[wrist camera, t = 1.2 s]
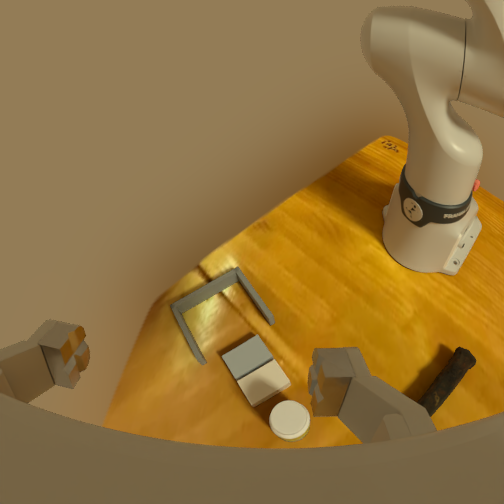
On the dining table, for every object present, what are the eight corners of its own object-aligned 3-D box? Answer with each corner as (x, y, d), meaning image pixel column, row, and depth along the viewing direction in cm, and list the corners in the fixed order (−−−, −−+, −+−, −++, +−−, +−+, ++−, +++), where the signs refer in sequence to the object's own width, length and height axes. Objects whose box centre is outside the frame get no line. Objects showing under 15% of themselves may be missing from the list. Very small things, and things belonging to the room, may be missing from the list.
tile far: (259, 340, 46) (257, 334, 44) (274, 360, 44) (272, 355, 42) (225, 361, 45) (221, 356, 43) (238, 382, 42) (235, 378, 41)
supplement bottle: (317, 426, 36) (319, 419, 30) (289, 448, 35) (284, 446, 29) (294, 401, 39) (291, 388, 33) (266, 423, 38) (257, 414, 31)
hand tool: (452, 351, 39) (464, 339, 35) (469, 368, 36) (482, 357, 33) (363, 442, 34) (369, 440, 30) (381, 462, 32) (389, 461, 28)
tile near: (276, 363, 43) (274, 359, 42) (291, 385, 41) (290, 381, 39) (239, 385, 42) (236, 381, 40) (253, 407, 40) (251, 405, 38)
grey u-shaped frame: (240, 275, 53) (238, 266, 51) (275, 322, 47) (273, 315, 45) (175, 312, 51) (169, 305, 49) (202, 365, 44) (197, 359, 43)
